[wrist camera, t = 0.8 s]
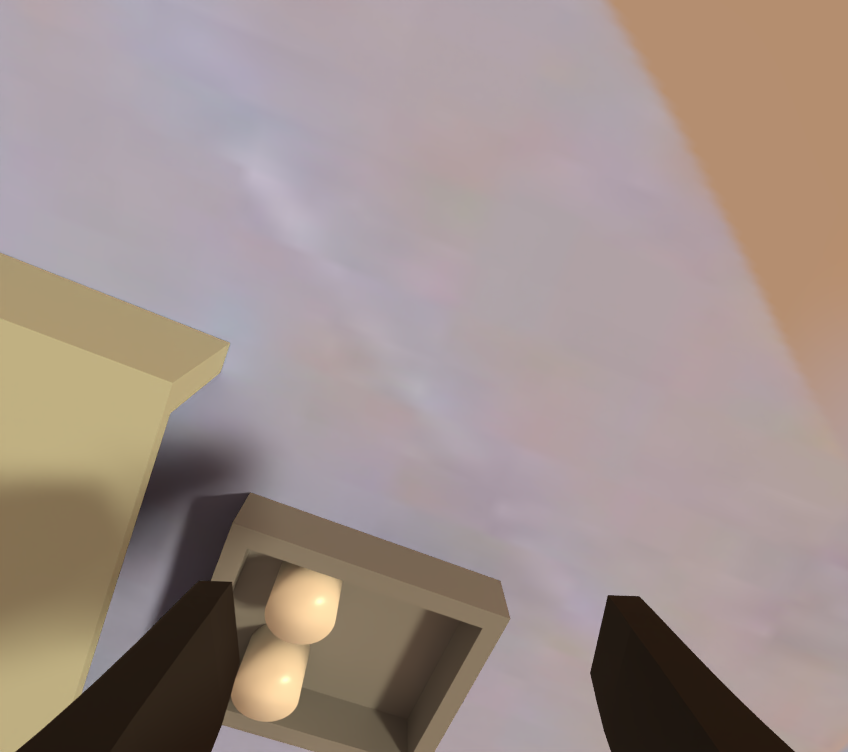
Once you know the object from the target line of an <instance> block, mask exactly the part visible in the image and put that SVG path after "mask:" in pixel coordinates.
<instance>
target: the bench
mask: <svg viewBox="0 0 848 752" xmlns="http://www.w3.org/2000/svg"><path fill="white" fill-rule="evenodd" d="M229 345H230V343H229V342H226V341H224V340H221V339H219V338H216V337H214V336H211V335H208V334H206V333H203V332H201V331H198V330H196V329H193V328H191V327H188V326H185V325H183V324H180V323H178V322H175V321H173V320H170V319H168V318H165V317H162V316H160V315H157V314H155V313H152V312H150V311H147V310H145V309H142V308H140V307H137V306H134V305H132V304H129V303H127V302H124V301H122V300H119V299H117V298H114V297H111V296H109V295H106V294H104V293H101V292H99V291H96V290H94V289H91V288H88V287H86V286H83V285H81V284H78V283H76V282H73V281H71V280H68V279H66V278H63V277H60V276H58V275H55V274H53V273H50V272H48V271H45V270H43V269H40V268H37V267H35V266H32V265H30V264H27V263H25V262H22V261H20V260H17V259H14V258H12V257H9V256H7V255H4V254H2V253H0V752H15V751H17V750H18V749H19V748H20V747H21V746H23V745H24V744H25V743H26V742H27V741H29V740H30V739H31V738H32V737H33V736H35V735H36V734H37V733H38V732H39V731H40V730H42V729H43V728H44V727H45V726H46V725H47V724H48V723H50V722H51V721H52V720H53V719H54V718H55V717H56V716H57V715H59V714H60V713H61V712H62V711H63V710H64V709H65V708H66V707H68V706H69V705H70V704H71V703H72V702H73V701H74V700H76V699H77V698H78V697H79V696H80V695H81V693H82V690H83V687H84V684H85V681H86V677H87V674H88V671H89V668H90V665H91V662H92V659H93V655H94V652H95V649H96V646H97V643H98V640H99V636H100V633H101V630H102V627H103V624H104V621H105V618H106V614H107V611H108V608H109V605H110V602H111V599H112V595H113V592H114V589H115V586H116V583H117V580H118V577H119V573H120V570H121V567H122V564H123V561H124V558H125V554H126V551H127V548H128V545H129V542H130V539H131V536H132V532H133V529H134V526H135V523H136V520H137V517H138V513H139V510H140V507H141V504H142V501H143V498H144V494H145V491H146V488H147V485H148V482H149V479H150V476H151V472H152V469H153V466H154V463H155V460H156V457H157V453H158V450H159V447H160V444H161V441H162V438H163V435H164V431H165V428H166V425H167V422H168V419H169V416H170V413H171V412H172V411H174V410H175V409H176V408H177V407H179V406H180V405H181V404H182V403H184V402H185V401H186V400H187V399H188V398H190V397H191V396H192V395H193V394H195V393H196V392H197V391H198V390H199V389H201V388H202V387H203V386H204V385H206V384H207V383H208V382H209V381H210V380H212V379H213V378H214V377H215V376H217V375H218V374H219V373H220V372H221V369H222V366H223V363H224V360H225V357H226V354H227V351H228V348H229Z"/></svg>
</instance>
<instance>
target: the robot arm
mask: <svg viewBox="0 0 848 752" xmlns="http://www.w3.org/2000/svg"><path fill="white" fill-rule="evenodd" d="M239 664H240V657H239V647H238V637H237V627H236V617H235V607H234V597H233V587H232V582H227V581H199V582H197V583H196V584H195V585H194V586H193V587H192V588H191V589H190V590H189V591H188V592H187V593H186V594H185V595H184V596H183V597H182V598H181V599H180V600H179V601H178V602H177V603H176V604H175V605H174V606H173V607H172V608H171V609H170V610H169V611H168V612H167V613H166V614H165V615H164V616H163V617H162V618H161V619H160V620H159V621H158V622H157V623H156V624H155V625H154V626H153V627H152V628H151V629H150V630H149V631H148V632H147V633H146V634H145V635H144V636H143V637H142V638H141V639H140V640H139V641H138V642H137V643H136V644H135V645H134V646H132V647H131V648H130V649H129V650H128V651H127V652H126V653H125V654H124V655H123V656H122V657H121V658H120V659H119V660H118V661H117V662H116V663H115V664H114V665H113V666H111V667H110V668H109V669H108V670H107V671H106V672H105V673H104V674H103V675H102V676H101V677H100V678H99V679H98V680H97V681H96V682H94V683H93V684H92V685H91V686H90V687H89V688H88V689H87V690H86V691H85V692H83V693H82V694H81V695H80V696H79V697H78V698H77V699H76V700H74V701H73V702H72V703H71V704H70V705H69V706H68V707H66V708H65V709H64V710H63V711H62V712H61V713H60V714H59V715H57V716H56V717H55V718H54V719H53V720H52V721H51V722H50V723H48V724H47V725H46V726H45V727H44V728H43V729H42V730H40V731H39V732H38V733H37V734H36V735H35V736H33V737H32V738H31V739H30V740H29V741H27V742H26V743H25V744H24V745H23V746H21V747H20V748H19V749H18V750H17V751H15V752H211V751H212V748H213V746H214V743H215V741H216V738H217V736H218V733H219V730H220V728H221V725H222V723H223V720H224V716H225V713H226V710H227V706H228V703H229V700H230V696H231V693H232V689H233V685H234V682H235V678H236V675H237V671H238V667H239ZM590 674H591V678H592V683H593V687H594V692H595V696H596V700H597V705H598V709H599V713H600V717H601V721H602V724H603V728H604V732H605V735H606V738H607V741H608V744H609V747H610V750H611V752H794V751H793V750H792V749H791V748H790V747H789V746H788V745H787V744H786V743H785V742H784V741H783V740H781V739H780V738H779V737H778V736H777V735H776V734H775V733H774V732H773V731H772V730H771V729H770V728H769V727H767V726H766V725H765V724H764V723H763V722H762V721H761V720H760V719H759V718H758V717H757V716H756V715H755V714H754V713H753V712H752V711H751V710H750V709H749V708H748V707H747V706H746V705H744V704H743V703H742V702H741V701H740V700H739V699H738V698H737V697H736V696H735V695H734V694H733V693H732V692H731V691H730V690H729V689H728V688H727V687H726V686H725V685H724V684H723V683H722V682H721V681H720V680H719V679H718V678H717V677H716V676H715V675H714V674H713V673H712V672H711V671H710V669H709V668H708V667H707V666H706V665H705V664H704V663H703V662H702V661H701V660H700V659H699V658H698V657H697V656H696V655H695V654H694V653H693V652H692V651H691V650H690V649H689V648H688V647H687V646H686V645H685V644H684V643H683V642H682V640H681V639H680V638H679V637H678V636H677V635H676V634H675V633H674V632H673V631H672V630H671V629H670V628H669V627H668V626H667V625H666V624H665V623H664V622H663V620H662V619H661V618H660V617H659V616H658V615H657V614H656V613H655V612H654V611H653V610H652V609H651V608H650V607H649V606H648V605H647V604H646V603H645V602H644V601H643V600H642V599H641V598H640V597H639V596H614V595H608V597H607V602H606V606H605V611H604V615H603V619H602V624H601V628H600V633H599V637H598V641H597V646H596V650H595V654H594V659H593V663H592V668H591V672H590Z"/></svg>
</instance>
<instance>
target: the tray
mask: <svg viewBox="0 0 848 752" xmlns="http://www.w3.org/2000/svg"><path fill="white" fill-rule="evenodd" d="M211 581H227V582H232V587H233V597H234V607H235V617H236V627H237V637H238V647H239V657H240V664H239V667H238V671H237V675H236V678H235V682H234V685H233V689H232V693H231V696H230V700H229V703H228V706H227V710H226V713H225V716H224V720H223V723H222V725H224V726H228V727H231V728H235V729H238V730H242V731H245V732H249V733H252V734H255V735H259V736H262V737H266V738H269V739H273V740H276V741H280V742H283V743H287V744H290V745H294V746H297V747H301V748H304V749H307V750H311V751H314V752H435V750H436V748H437V746H438V745H439V743H440V741H441V739H442V738H443V736H444V734H445V732H446V731H447V729H448V727H449V725H450V724H451V722H452V720H453V718H454V717H455V715H456V713H457V711H458V709H459V708H460V706H461V704H462V702H463V701H464V699H465V697H466V695H467V694H468V692H469V690H470V688H471V687H472V685H473V683H474V681H475V680H476V678H477V676H478V674H479V673H480V671H481V669H482V667H483V666H484V664H485V662H486V660H487V659H488V657H489V655H490V653H491V652H492V650H493V648H494V646H495V645H496V643H497V641H498V639H499V638H500V636H501V634H502V632H503V631H504V629H505V627H506V625H507V624H508V622H509V620H510V616H509V612H508V608H507V604H506V600H505V597H504V593H503V589H502V585H501V581H499V580H496V579H493V578H491V577H488V576H485V575H482V574H479V573H477V572H474V571H471V570H468V569H465V568H462V567H460V566H457V565H454V564H451V563H448V562H445V561H443V560H440V559H437V558H434V557H431V556H429V555H426V554H423V553H420V552H417V551H414V550H412V549H409V548H406V547H403V546H400V545H397V544H395V543H392V542H389V541H386V540H383V539H380V538H378V537H375V536H372V535H369V534H366V533H364V532H361V531H358V530H355V529H352V528H349V527H347V526H344V525H341V524H338V523H335V522H332V521H330V520H327V519H324V518H321V517H318V516H316V515H313V514H310V513H307V512H304V511H301V510H299V509H296V508H293V507H290V506H287V505H284V504H282V503H279V502H276V501H273V500H270V499H268V498H265V497H262V496H259V495H256V494H253V493H251V492H250V494H249V496H248V497H247V499H246V501H245V502H244V504H243V506H242V508H241V509H240V511H239V513H238V514H237V516H236V518H235V520H234V521H233V523H232V526H231V528H230V531H229V534H228V536H227V539H226V542H225V544H224V547H223V550H222V552H221V555H220V557H219V560H218V563H217V565H216V568H215V571H214V573H213V576H212V579H211Z"/></svg>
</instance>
